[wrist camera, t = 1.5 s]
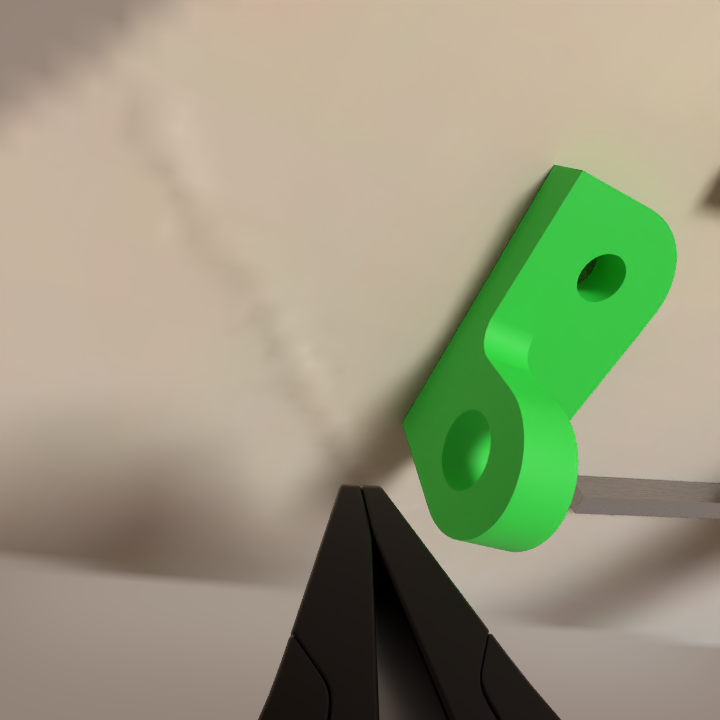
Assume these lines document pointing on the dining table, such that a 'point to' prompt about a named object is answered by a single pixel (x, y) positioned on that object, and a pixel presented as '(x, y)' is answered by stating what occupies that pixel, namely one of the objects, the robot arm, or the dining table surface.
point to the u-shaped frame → (646, 498)
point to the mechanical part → (536, 361)
